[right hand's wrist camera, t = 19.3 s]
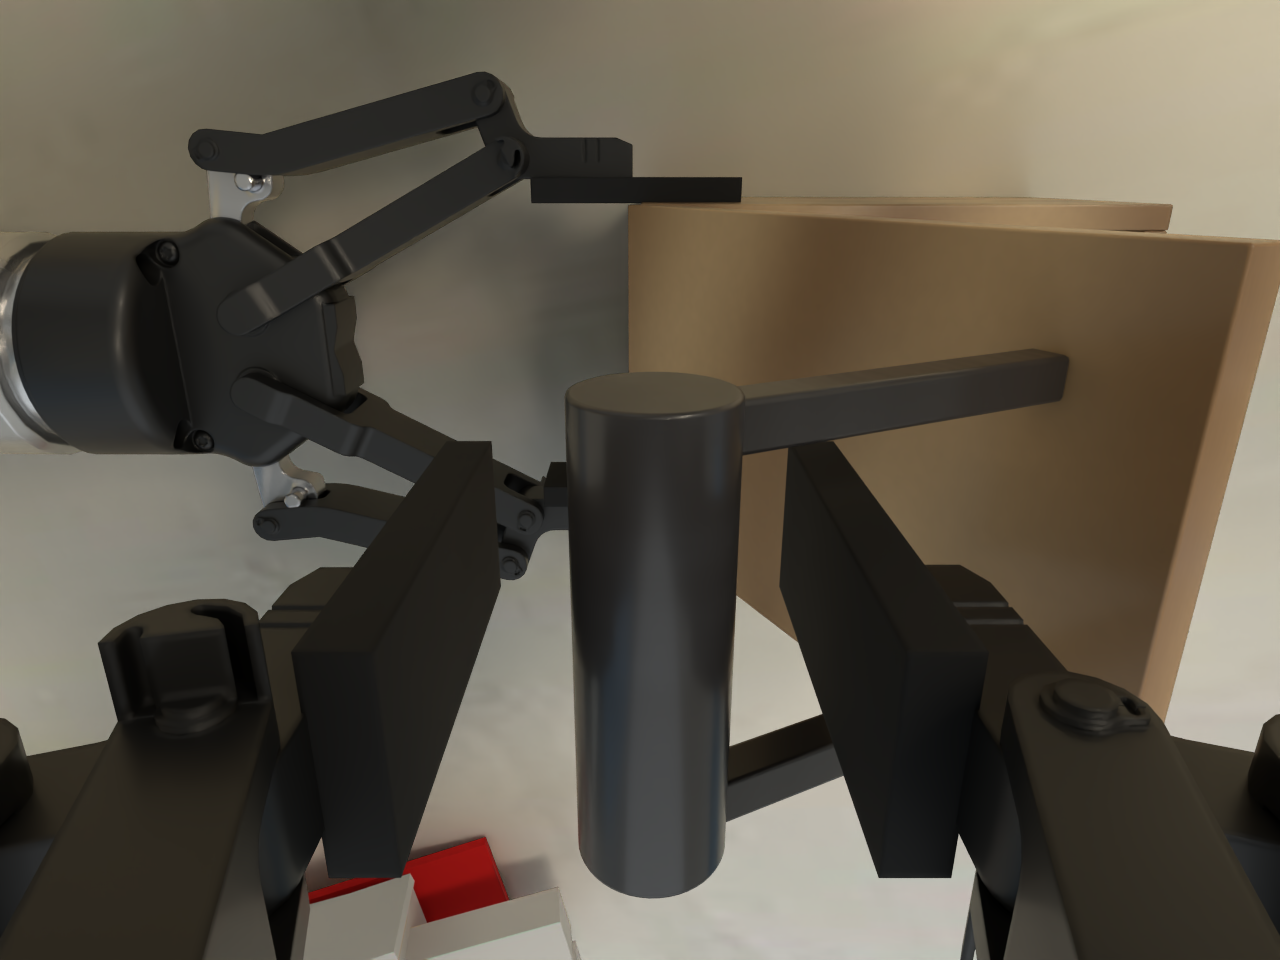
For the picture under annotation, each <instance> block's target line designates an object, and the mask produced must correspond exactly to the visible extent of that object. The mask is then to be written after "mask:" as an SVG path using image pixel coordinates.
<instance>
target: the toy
mask: <svg viewBox="0 0 1280 960" xmlns="http://www.w3.org/2000/svg"><path fill="white" fill-rule="evenodd" d="M308 896H309V904H310V914H309V921H308V928H307V936H306V943H305V950H304V957H303V960H581V957H580V954H579V951H578V948H577V945H576V941H572V937H571V926H570V922H569V919H568V916H567V913H566V910H565V907H564V903H563V900H562V897H561V894H560V891H559V888H558V887H556V888H552V889H549V890H545V891H541V892H538V893H534V894H530V895H527V896H523V897H520V898H516V899H512V900H509V898H508V895H507V893H506V890H505V887H504V885H503V882H502V879H501V877H500V874H499V871H498V869H497V866H496V863H495V861H494V858H493V855H492V853H491V850H490V847H489V845H488V842H487V839H486V837H484V838H481V839H477V840H474V841H471V842H468V843H465V844H462V845H458V846H455V847H452V848H449V849H446V850H443V851H439V852H436V853H433V854H430V855H427V856H424V857H420V858H417V859H414V860H411V861H408V862H406V865H405V868H404V871H403V874H402V877H401V878H354V879H351V880H347V881H344V882H341V883H338V884H335V885H332V886H328V887H325V888H322V889H319V890H316V891H313V892H309V893H308Z"/></svg>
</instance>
